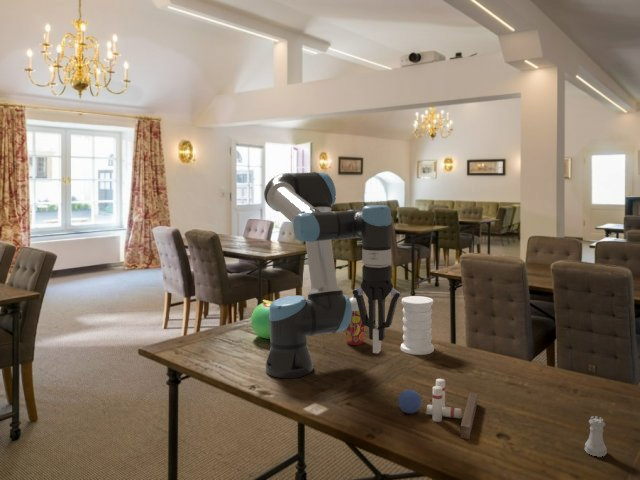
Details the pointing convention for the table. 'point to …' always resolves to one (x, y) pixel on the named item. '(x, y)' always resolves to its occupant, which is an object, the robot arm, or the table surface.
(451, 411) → the front pin
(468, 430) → the back wall
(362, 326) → the smoothie
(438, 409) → the pin
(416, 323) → the decorative container
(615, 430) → the table surface
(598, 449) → the rook chess piece
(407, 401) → the ball
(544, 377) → the table surface
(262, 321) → the toy bird
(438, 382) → the pin
